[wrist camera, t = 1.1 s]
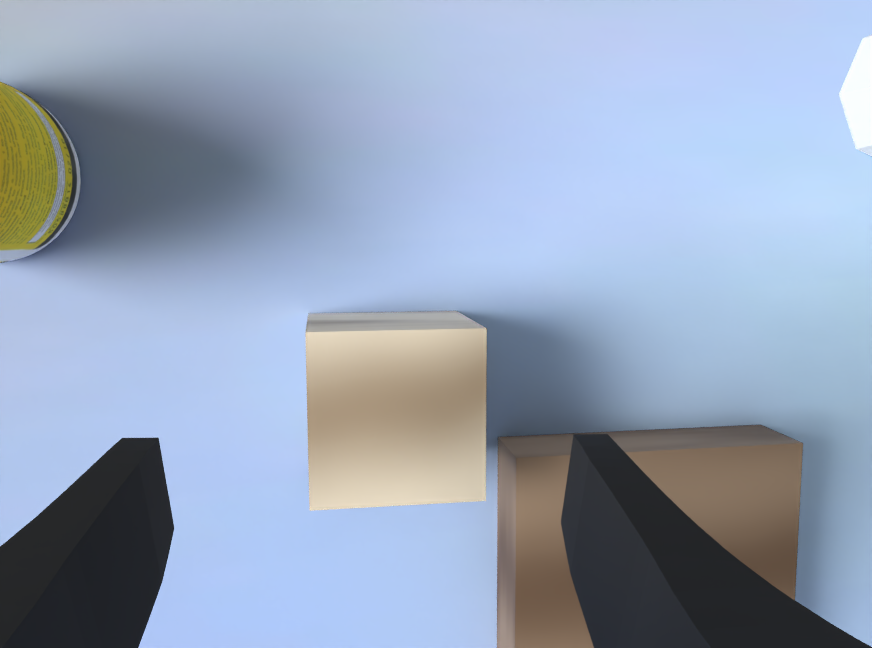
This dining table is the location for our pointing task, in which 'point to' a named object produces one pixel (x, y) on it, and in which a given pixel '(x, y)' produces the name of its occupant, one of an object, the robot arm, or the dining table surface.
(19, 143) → the supplement bottle
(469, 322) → the maple block
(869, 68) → the salt shaker
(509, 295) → the dining table surface
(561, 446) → the walnut block
